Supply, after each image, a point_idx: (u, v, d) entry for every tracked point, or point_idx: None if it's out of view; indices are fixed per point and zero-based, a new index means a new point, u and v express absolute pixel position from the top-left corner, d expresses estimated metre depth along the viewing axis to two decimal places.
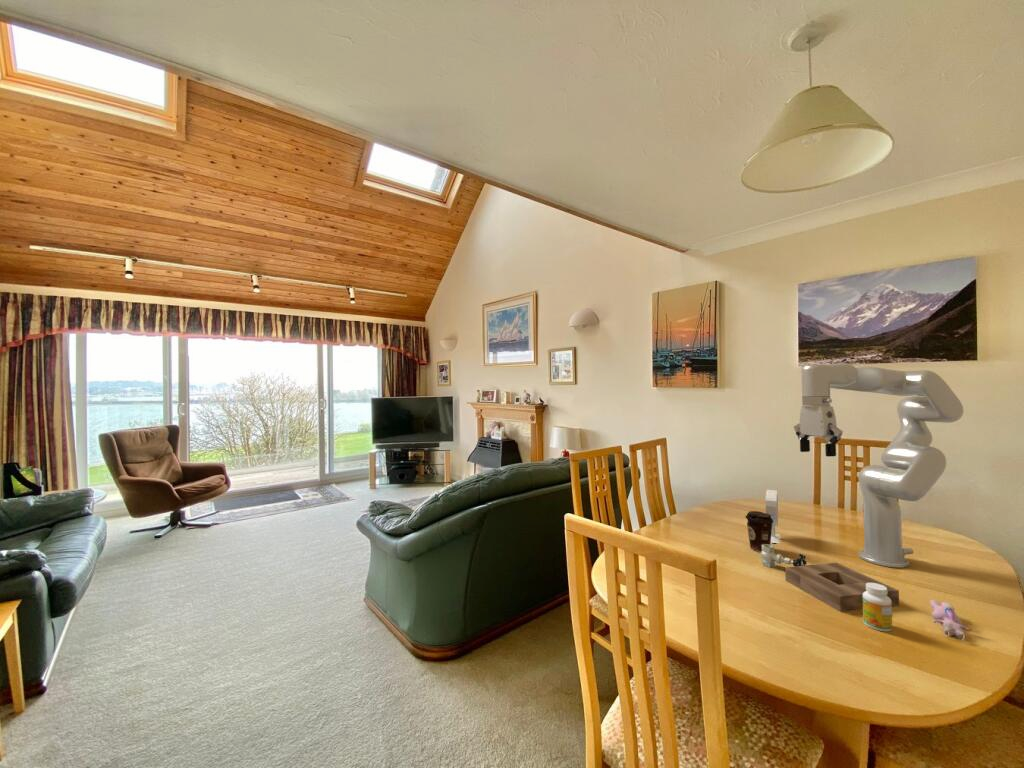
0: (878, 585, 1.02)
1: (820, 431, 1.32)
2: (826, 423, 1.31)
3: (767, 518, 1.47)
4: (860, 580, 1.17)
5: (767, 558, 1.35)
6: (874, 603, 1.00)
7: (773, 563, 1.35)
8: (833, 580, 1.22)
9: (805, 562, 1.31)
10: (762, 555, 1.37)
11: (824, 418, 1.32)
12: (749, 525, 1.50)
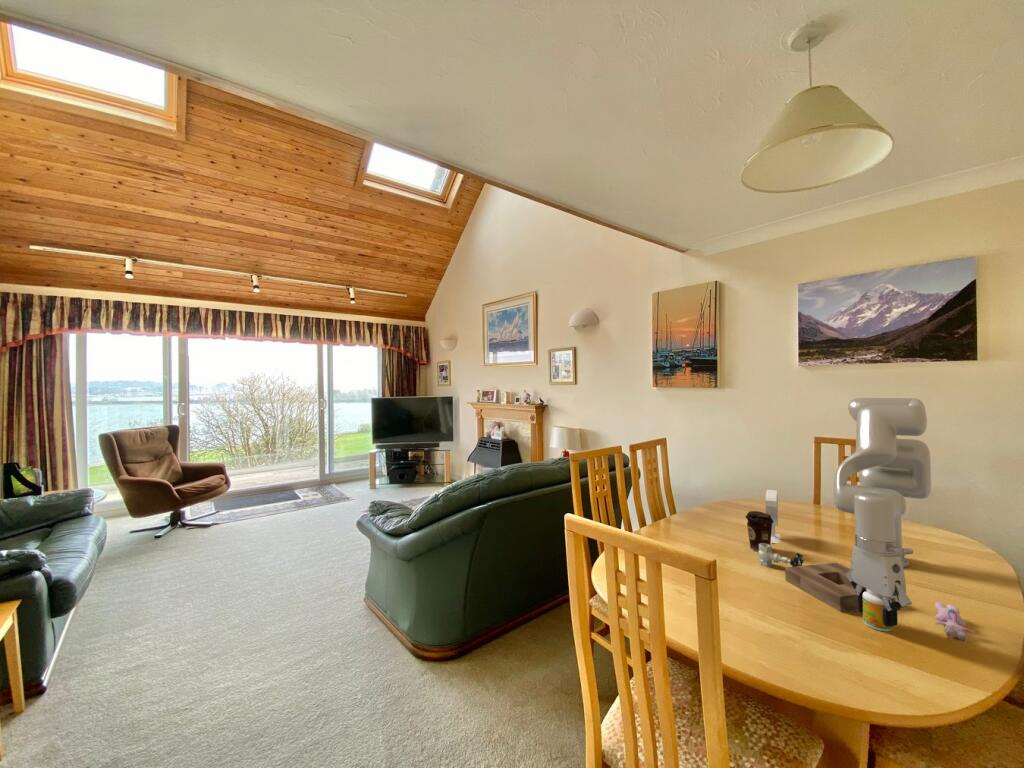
0: None
1: (882, 589, 0.98)
2: (892, 581, 0.97)
3: (767, 518, 1.47)
4: None
5: (764, 557, 1.36)
6: (874, 603, 1.00)
7: (770, 562, 1.36)
8: (833, 580, 1.22)
9: (802, 561, 1.32)
10: (759, 554, 1.37)
11: (890, 573, 0.97)
12: (749, 525, 1.50)
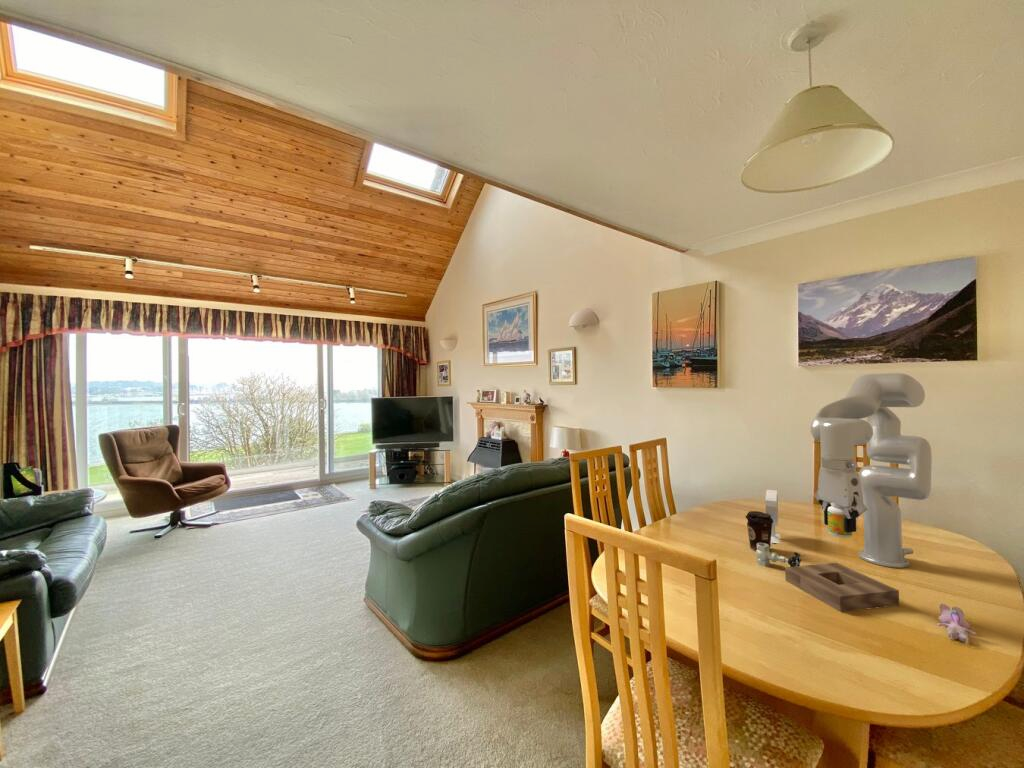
0: None
1: (843, 500, 1.14)
2: (851, 492, 1.13)
3: (767, 518, 1.47)
4: (860, 580, 1.17)
5: (762, 557, 1.36)
6: (836, 514, 1.16)
7: (768, 561, 1.36)
8: (833, 580, 1.22)
9: (799, 560, 1.32)
10: (757, 554, 1.38)
11: (849, 486, 1.13)
12: (749, 525, 1.50)
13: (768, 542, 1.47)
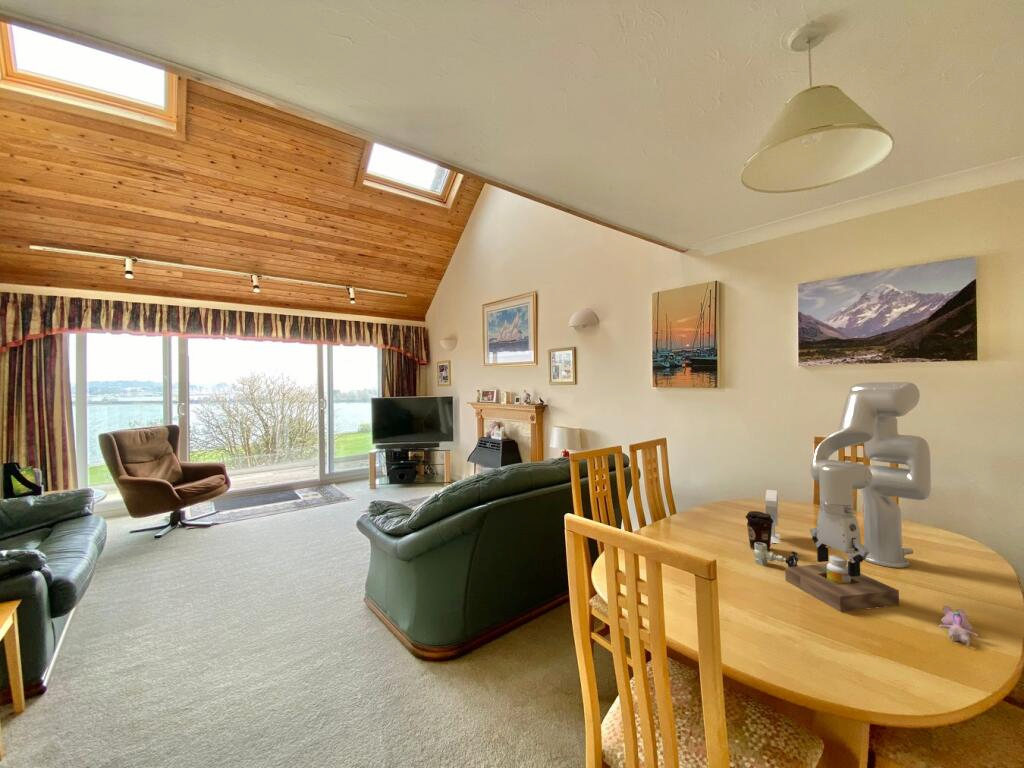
0: (840, 557, 1.19)
1: (841, 545, 1.15)
2: (849, 538, 1.14)
3: (767, 518, 1.47)
4: (860, 580, 1.17)
5: (760, 556, 1.37)
6: (835, 572, 1.17)
7: (766, 561, 1.37)
8: None
9: (797, 559, 1.33)
10: (755, 553, 1.38)
11: (847, 531, 1.14)
12: (749, 525, 1.50)
13: (768, 542, 1.47)
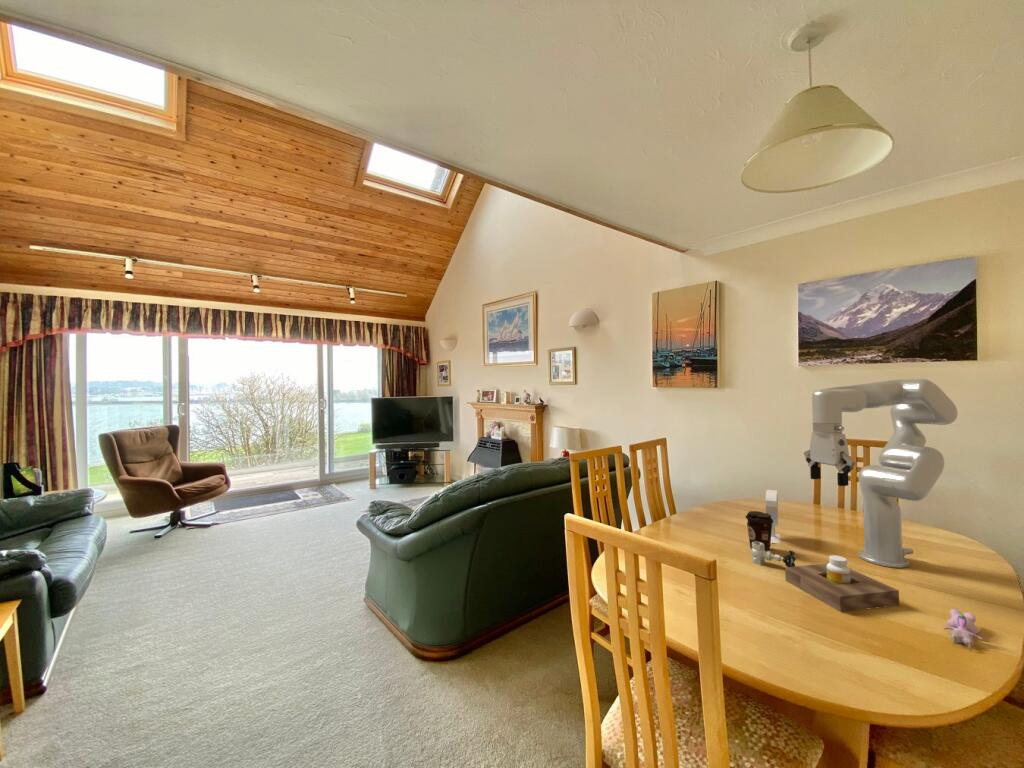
0: (839, 557, 1.19)
1: (831, 459, 1.28)
2: (838, 451, 1.27)
3: (767, 518, 1.47)
4: (860, 580, 1.17)
5: (758, 555, 1.37)
6: (835, 572, 1.17)
7: (763, 560, 1.38)
8: None
9: (794, 558, 1.34)
10: (753, 552, 1.39)
11: (836, 446, 1.28)
12: (749, 525, 1.50)
13: (768, 542, 1.47)
